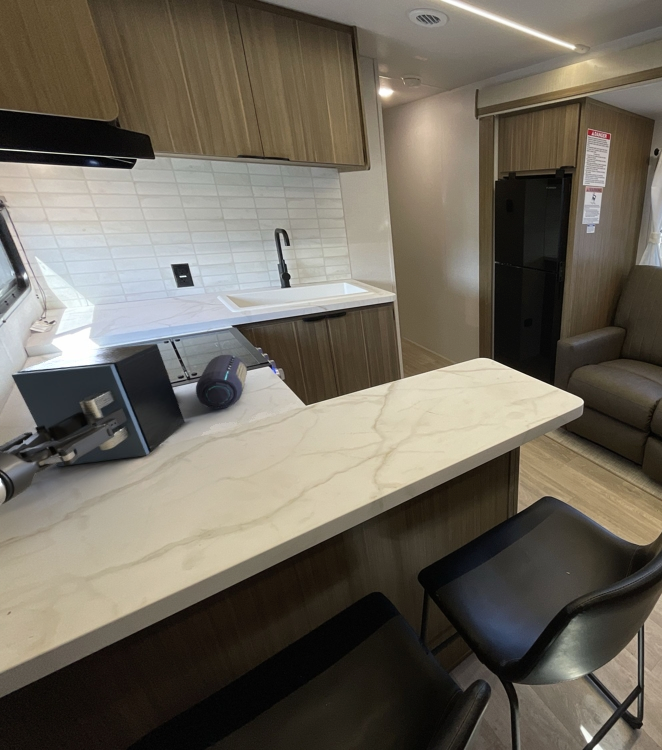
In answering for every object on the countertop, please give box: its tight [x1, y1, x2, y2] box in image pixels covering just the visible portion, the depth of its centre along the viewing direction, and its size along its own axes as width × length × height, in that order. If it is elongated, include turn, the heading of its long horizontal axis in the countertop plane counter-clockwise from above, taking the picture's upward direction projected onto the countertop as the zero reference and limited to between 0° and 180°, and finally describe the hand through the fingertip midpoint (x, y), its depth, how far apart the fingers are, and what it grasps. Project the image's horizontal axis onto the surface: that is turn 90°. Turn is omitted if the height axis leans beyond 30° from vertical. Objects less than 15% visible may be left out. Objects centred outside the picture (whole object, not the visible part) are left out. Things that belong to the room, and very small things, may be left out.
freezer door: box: [11, 364, 150, 467], centre depth 76 cm, size 7×16×20 cm, turn 101°
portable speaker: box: [195, 354, 248, 410], centre depth 111 cm, size 25×10×10 cm, turn 27°
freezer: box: [16, 343, 186, 453], centre depth 86 cm, size 14×16×20 cm
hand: (102, 416), depth 79 cm, fingers closed on freezer door, 6 cm apart
